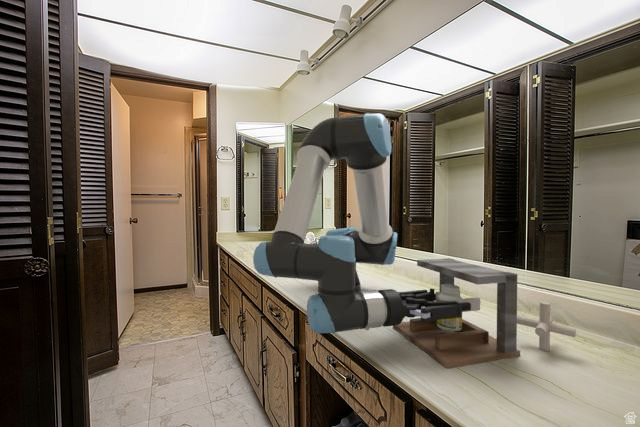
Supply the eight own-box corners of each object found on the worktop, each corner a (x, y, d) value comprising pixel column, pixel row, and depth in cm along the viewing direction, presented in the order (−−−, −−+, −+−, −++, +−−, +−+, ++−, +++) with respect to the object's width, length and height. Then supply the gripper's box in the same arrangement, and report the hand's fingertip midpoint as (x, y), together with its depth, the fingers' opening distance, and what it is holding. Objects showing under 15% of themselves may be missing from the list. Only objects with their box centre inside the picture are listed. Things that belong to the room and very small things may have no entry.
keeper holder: (392, 327, 74) (393, 261, 74) (451, 320, 79) (452, 258, 79) (446, 368, 55) (447, 279, 55) (520, 355, 60) (521, 273, 60)
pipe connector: (511, 348, 63) (512, 302, 63) (521, 334, 70) (522, 293, 70) (572, 366, 56) (573, 314, 56) (577, 349, 63) (577, 303, 63)
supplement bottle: (446, 333, 64) (447, 290, 63) (431, 323, 69) (432, 283, 69) (467, 331, 65) (468, 288, 65) (451, 321, 70) (451, 282, 70)
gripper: (361, 311, 71) (442, 303, 77) (402, 344, 53) (502, 331, 59) (362, 280, 71) (442, 275, 77) (402, 304, 53) (502, 294, 59)
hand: (468, 299), depth 68 cm, fingers closed on supplement bottle, 5 cm apart
